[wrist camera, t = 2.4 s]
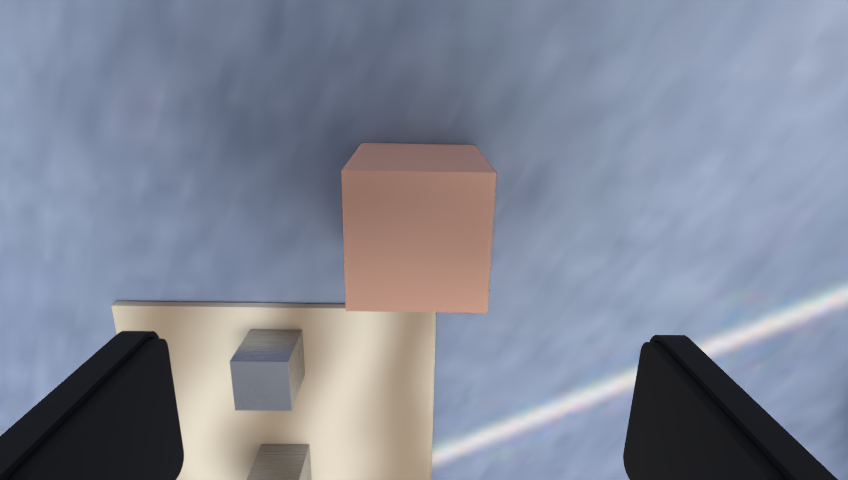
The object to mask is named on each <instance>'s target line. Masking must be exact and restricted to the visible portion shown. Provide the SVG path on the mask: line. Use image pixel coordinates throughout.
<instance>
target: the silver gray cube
mask: <svg viewBox="0 0 848 480" xmlns="http://www.w3.org/2000/svg"><path fill="white" fill-rule="evenodd" d="M230 370H231V378H232V387H233V396H234V404H235V410H240V411H292V409H293V406H294V403H295V401H296V398H297V395H298V392H299V390H300V387H301V384H302V382H303V379H304V376H305V364H304V348H303V332H302V330H296V329H250V330H249V332H248V333H247V335H246V337H245V338H244V340H243V341H242V343H241V344H240V346H239V347H238V349H237V351H236V352H235V354H234V355H233V357H232V358H231V360H230Z"/></svg>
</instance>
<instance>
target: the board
mask: <svg viewBox="0 0 848 480" xmlns="http://www.w3.org/2000/svg"><path fill="white" fill-rule="evenodd" d="M111 306H112V312H113V317H114V322H115V327H116V332H117V334H118V333H120V332H121V331H154V332H156V333H157V335H158V336H159V339H165V340H166V342H167V344H168V349H169V355H170V362H171V369H172V375H173V382H174V389H175V396H176V402H177V409H178V416H179V422H180V429H181V436H182V443H183V449H184V462H183V466H182V469H181V472H180V474H179V476H178V478H177V479H176V480H247V478H248V475H249V473H250V470H251V468H252V466H253V463H254V461H255V458H256V456H257V454H258V451H259V449H260V446H261V444H310V460H311V476H312V480H431V465H432V432H433V399H434V366H435V333H436V312H371V311H346V306H345V304H298V303H221V302H144V301H117V302H115V303H114V304H113V305H111ZM250 329H296V330H302V332H303V348H304V364H305V376H304V379H303V382H302V384H301V387H300V390H299V392H298V395H297V398H296V401H295V403H294V406H293V409H292V411H240V410H235V404H234V396H233V387H232V378H231V370H230V360H231V358H232V357H233V355H234V354H235V352H236V351H237V349H238V347H239V346H240V344H241V343H242V341H243V340H244V338H245V337H246V335H247V333H248V332H249V330H250Z"/></svg>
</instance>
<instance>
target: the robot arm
mask: <svg viewBox="0 0 848 480" xmlns="http://www.w3.org/2000/svg"><path fill="white" fill-rule="evenodd" d="M623 459H624V467H625V470H626V473H627V475H628V477H629V479H630V480H837V479H836V478H835V477H834V476H833V475H832V474H831V473H830V472H829V471H828V470H827V469H826V468H825V467H824V466H823V465H822V464H821V463H820V462H819V461H817V460H816V459H815V458H814V457H813V456H812V455H811V454H810V453H809V452H808V451H807V450H806V449H805V448H804V447H803V446H802V445H801V444H800V443H799V442H798V441H796V440H795V439H794V438H793V437H792V436H791V435H790V434H789V433H788V432H787V431H786V430H785V429H784V428H783V427H782V426H781V425H780V424H779V423H778V422H776V421H775V420H774V419H773V418H772V417H771V416H770V415H769V414H768V413H767V412H766V411H765V410H764V409H763V408H762V407H761V406H760V405H759V404H758V403H756V402H755V401H754V400H753V399H752V398H751V397H750V396H749V395H748V394H747V393H746V392H745V391H744V390H743V389H742V388H741V387H740V386H739V385H738V384H737V383H735V382H734V381H733V380H732V379H731V378H730V377H729V376H728V375H727V374H726V373H725V372H724V371H723V370H722V369H721V368H720V367H719V366H718V365H717V364H715V363H714V362H713V361H712V360H711V359H710V358H709V357H708V356H707V355H706V354H705V353H704V352H703V351H702V350H701V349H700V348H699V347H698V346H697V345H696V344H694V343H693V342H692V341H691V340H690V339H689V338H688V337H686V336H685V335H655V336H653V337H652V338H651V340H650V342H645V343H644V344H643V346H642V348H641V353H640V359H639V365H638V371H637V376H636V382H635V388H634V394H633V400H632V406H631V412H630V418H629V424H628V430H627V436H626V442H625V448H624V455H623ZM183 462H184V449H183V443H182V436H181V429H180V422H179V416H178V409H177V402H176V396H175V389H174V382H173V375H172V369H171V362H170V355H169V349H168V344H167V342H166V340H165V339H159V336H158V335H157V333H156V332H154V331H121V332H120V333H118V334H117V335H116V336H115V337H113V338H112V339H111V340H110V341H109V342H108V343H107V344H105V345H104V346H103V347H102V348H101V349H100V350H99V351H97V352H96V353H95V354H94V355H93V356H92V357H91V358H89V359H88V360H87V361H86V362H85V363H84V364H83V365H81V366H80V367H79V368H78V369H77V370H76V371H75V372H73V373H72V374H71V375H70V376H69V377H68V378H67V379H65V380H64V381H63V382H62V383H61V384H60V385H59V386H57V387H56V388H55V389H54V390H53V391H52V392H50V393H49V394H48V395H47V396H46V397H45V398H44V399H42V400H41V401H40V402H39V403H38V404H37V405H36V406H34V407H33V408H32V409H31V410H30V411H29V412H28V413H26V414H25V415H24V416H23V417H22V418H21V419H20V420H18V421H17V422H16V423H15V424H14V425H13V426H12V427H10V428H9V429H8V430H7V431H6V432H5V433H4V434H2V435H1V436H0V480H176V479H177V478H178V476H179V474H180V472H181V469H182V466H183Z"/></svg>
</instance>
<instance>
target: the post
mask: <svg viewBox="0 0 848 480" xmlns="http://www.w3.org/2000/svg"><path fill="white" fill-rule="evenodd" d="M247 480H312V476H311V460H310V444H261V446H260V449H259V451H258V454H257V456H256V458H255V461H254V463H253V466H252V468H251V470H250V473H249V475H248V478H247Z"/></svg>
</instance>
